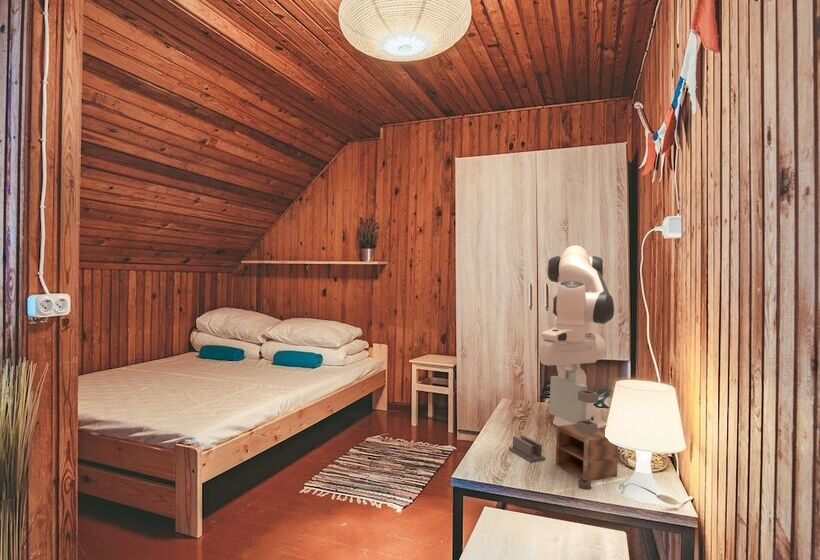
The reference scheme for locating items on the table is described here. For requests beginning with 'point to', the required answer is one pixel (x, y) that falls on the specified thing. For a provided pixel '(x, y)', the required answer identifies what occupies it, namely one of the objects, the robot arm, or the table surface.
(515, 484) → the table surface
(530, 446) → the door stand
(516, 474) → the table surface
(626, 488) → the table surface
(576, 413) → the door
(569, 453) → the cabinet
